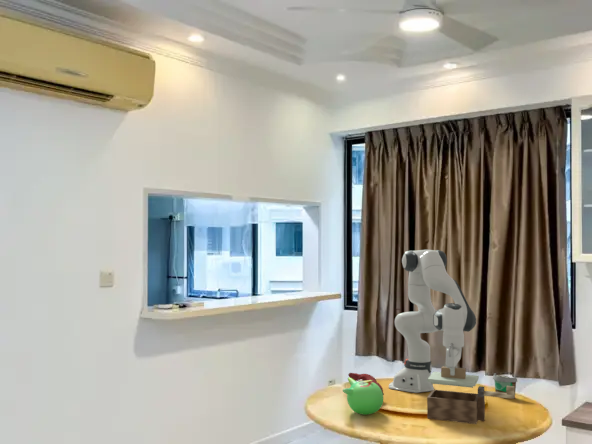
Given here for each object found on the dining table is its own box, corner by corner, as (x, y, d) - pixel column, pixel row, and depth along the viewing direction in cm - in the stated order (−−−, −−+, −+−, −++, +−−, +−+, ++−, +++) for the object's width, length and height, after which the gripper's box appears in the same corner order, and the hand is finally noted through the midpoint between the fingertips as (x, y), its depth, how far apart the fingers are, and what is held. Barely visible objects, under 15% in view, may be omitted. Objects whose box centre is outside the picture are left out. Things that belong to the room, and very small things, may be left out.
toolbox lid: (427, 384, 255) (427, 369, 255) (433, 376, 268) (433, 362, 268) (475, 388, 248) (475, 373, 248) (478, 380, 260) (478, 366, 261)
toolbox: (427, 418, 255) (427, 386, 255) (433, 409, 267) (433, 379, 268) (482, 425, 246) (482, 392, 246) (485, 415, 259) (485, 384, 259)
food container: (487, 395, 292) (487, 374, 293) (495, 393, 296) (495, 372, 296) (510, 400, 283) (509, 379, 283) (517, 398, 286) (517, 377, 286)
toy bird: (382, 420, 252) (382, 385, 252) (342, 418, 255) (342, 383, 255) (384, 408, 269) (384, 375, 270) (347, 406, 273) (346, 374, 273)
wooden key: (481, 395, 252) (481, 384, 252) (481, 394, 254) (481, 383, 254) (514, 398, 247) (514, 387, 247) (514, 397, 249) (514, 386, 249)
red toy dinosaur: (357, 396, 306) (339, 376, 302) (368, 382, 309) (351, 363, 305) (388, 411, 280) (369, 389, 276) (400, 396, 283) (382, 374, 279)
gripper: (457, 346, 247) (457, 380, 247) (464, 338, 266) (463, 369, 266) (441, 345, 250) (441, 379, 249) (449, 337, 268) (449, 368, 268)
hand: (453, 374), depth 258 cm, fingers closed on toolbox lid, 2 cm apart
